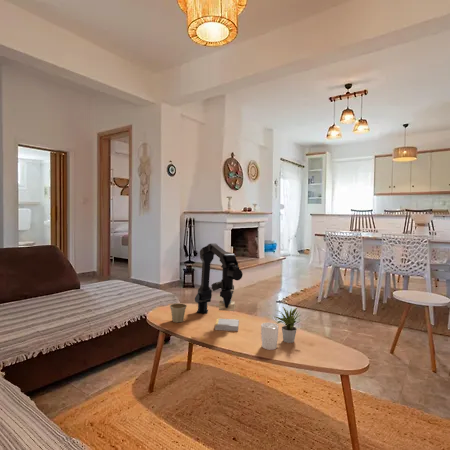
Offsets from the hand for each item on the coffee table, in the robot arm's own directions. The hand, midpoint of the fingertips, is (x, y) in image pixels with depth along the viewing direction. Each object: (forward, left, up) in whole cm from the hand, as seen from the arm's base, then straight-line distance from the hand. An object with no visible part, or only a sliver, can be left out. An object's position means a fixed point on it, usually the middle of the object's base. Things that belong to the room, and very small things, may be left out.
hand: (227, 306), depth 173 cm
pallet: (0, 0, -2) cm, 2 cm away
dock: (0, 0, -11) cm, 11 cm away
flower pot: (-6, -28, -11) cm, 30 cm away
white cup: (+23, +21, -11) cm, 34 cm away
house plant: (+13, +31, -11) cm, 36 cm away
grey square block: (0, 0, +2) cm, 2 cm away
